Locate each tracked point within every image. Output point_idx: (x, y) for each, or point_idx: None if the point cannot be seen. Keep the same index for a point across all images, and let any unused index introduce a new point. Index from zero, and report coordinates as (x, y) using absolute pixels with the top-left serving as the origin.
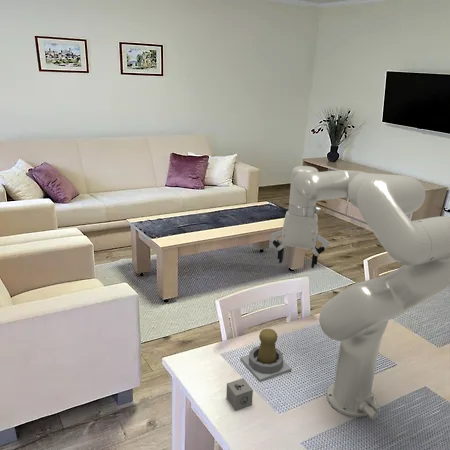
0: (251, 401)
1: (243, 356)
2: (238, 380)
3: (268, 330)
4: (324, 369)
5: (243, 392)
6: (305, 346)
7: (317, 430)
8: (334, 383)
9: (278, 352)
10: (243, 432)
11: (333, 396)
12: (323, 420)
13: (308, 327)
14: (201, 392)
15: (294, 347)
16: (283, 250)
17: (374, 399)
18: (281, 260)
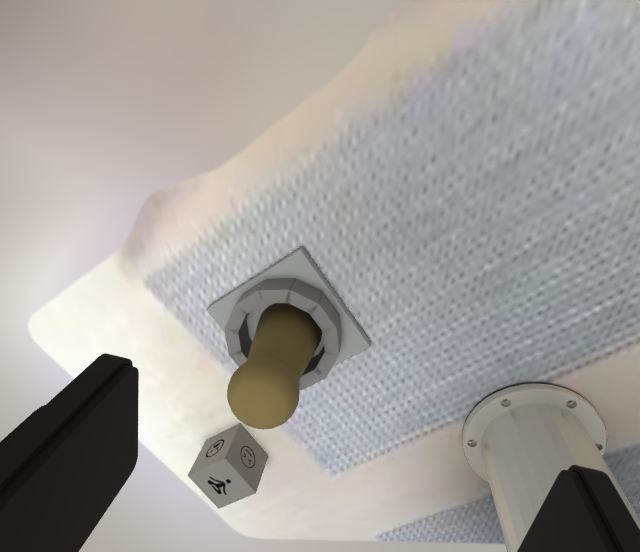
0: (263, 464)
1: (214, 305)
2: (214, 466)
3: (255, 402)
4: (483, 323)
5: (234, 500)
6: (436, 203)
7: (417, 513)
8: (488, 467)
9: (322, 322)
10: (260, 515)
11: (479, 446)
12: (436, 491)
13: (475, 44)
14: (145, 425)
15: (391, 215)
16: (25, 518)
17: (601, 454)
18: (115, 495)
